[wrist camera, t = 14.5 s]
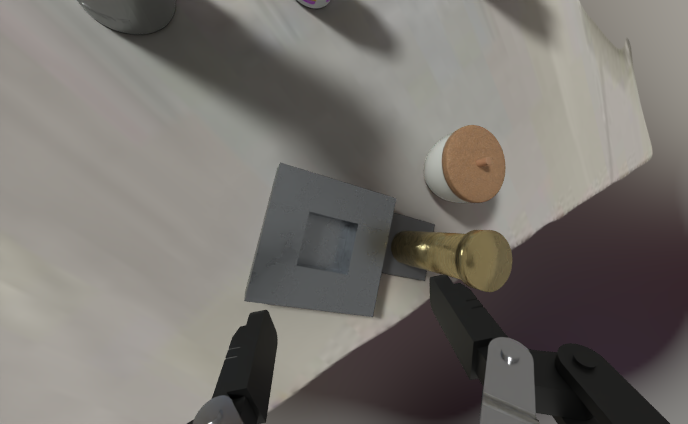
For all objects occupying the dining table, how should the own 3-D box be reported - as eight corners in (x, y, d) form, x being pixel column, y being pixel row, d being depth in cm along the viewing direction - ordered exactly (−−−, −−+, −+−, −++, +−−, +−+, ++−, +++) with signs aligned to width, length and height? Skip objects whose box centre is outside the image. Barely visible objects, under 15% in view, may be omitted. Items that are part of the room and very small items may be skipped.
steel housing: (277, 168, 33) (280, 162, 30) (383, 200, 38) (396, 198, 35) (245, 292, 31) (244, 301, 28) (361, 308, 36) (372, 316, 33)
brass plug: (392, 223, 38) (472, 224, 24) (425, 232, 40) (515, 237, 26) (384, 263, 37) (462, 287, 24) (418, 270, 39) (507, 296, 26)
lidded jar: (467, 202, 44) (521, 197, 35) (415, 209, 40) (461, 205, 31) (459, 141, 44) (512, 120, 35) (407, 141, 40) (452, 119, 31)
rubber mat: (384, 210, 38) (386, 210, 38) (432, 224, 41) (434, 224, 41) (372, 270, 37) (374, 271, 37) (422, 280, 40) (424, 280, 39)
